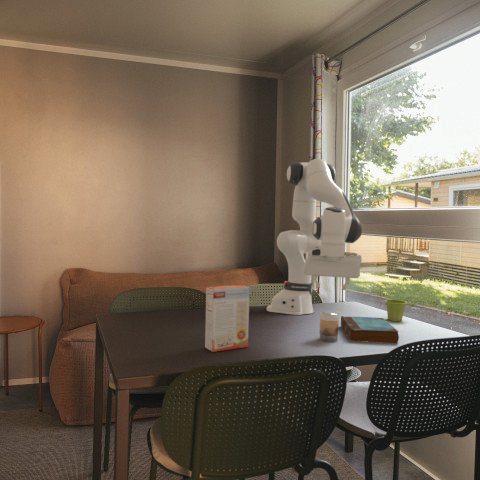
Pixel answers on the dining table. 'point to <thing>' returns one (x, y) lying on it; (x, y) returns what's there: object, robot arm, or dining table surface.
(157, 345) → the dining table surface
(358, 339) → the book
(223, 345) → the cracker box
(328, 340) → the glass jar
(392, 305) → the plant pot
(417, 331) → the dining table surface
